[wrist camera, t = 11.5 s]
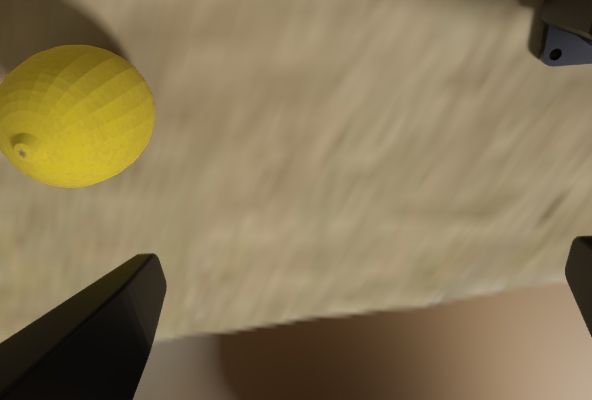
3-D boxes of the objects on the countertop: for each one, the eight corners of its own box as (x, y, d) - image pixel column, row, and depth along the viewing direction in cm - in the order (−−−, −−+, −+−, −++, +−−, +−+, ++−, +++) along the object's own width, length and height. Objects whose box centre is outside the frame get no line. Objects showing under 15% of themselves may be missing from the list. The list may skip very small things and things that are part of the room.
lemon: (54, 32, 20) (-92, 71, 13) (167, 30, 20) (77, 70, 13) (85, 140, 23) (-22, 220, 16) (185, 141, 22) (119, 223, 16)
